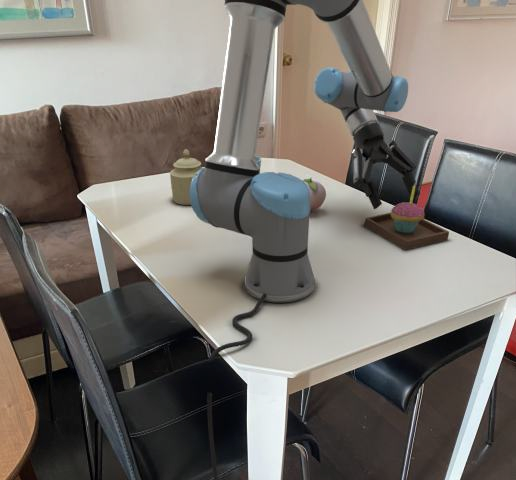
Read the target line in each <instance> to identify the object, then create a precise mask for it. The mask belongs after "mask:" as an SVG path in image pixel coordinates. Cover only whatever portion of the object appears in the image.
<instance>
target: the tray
mask: <svg viewBox="0 0 516 480" xmlns="http://www.w3.org/2000/svg"><path fill="white" fill-rule="evenodd" d="M363 226H364V227H365V228H367V229H369V230H371V231H372V232H374V233H375V234H377V235H379V236H381V238H384V239H385V240H387V241H389V242H390V243H392V244H394V245H396V246H397V247H399V248H401V249H402V250H405V251H409V250H412V249H417V248H421V247H426V246H428V245H433V244H436V243H437V244H438V243H441V242H445V241H448V239H449V235H450V231H448V230H447V229H445V228H442V227H441V226H439V225H436V224H435V223H432V222H431V221H428V220H427V219H425V218H424V219H423V220H421V221H419V222H418V224H417V225H416V227H415V229H414V231H413V232H411V233H402V232H399V231H397V230H396V228H395V222H394V219H392V217H391V212H387V213H383V214H377V215H372V216H368V217H364V224H363Z"/></svg>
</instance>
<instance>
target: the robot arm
mask: <svg viewBox="0 0 516 480" xmlns="http://www.w3.org/2000/svg"><path fill="white" fill-rule="evenodd" d="M223 5H224V7H223V9H224V11H225V12H226V15H228V17H229V20H230V21H229V23H230V24H229V31H228V39H227V46H226V53H225V60H224V61H225V62H224V70H223V76H222V85H221V92H220V101H219V109H218V117H217V124H216V131H215V140H214V147H213V152H212V153H211V154H210V155H209V156H207V157H205V161H204V167H202V168H203V169H200V170H199V171H198V172H197V173H196V174H195V175H196V177H193V179H192V182H191V186H190V202H191V205H190V206H191V208H192V211H193V213H194V214H195V215H196V218H198V219H199V221H202V222H203V223H205V224H208V225H211V226H212V227H214V228H218V229H225V230H227V231H230V232H234V233H237V234H241V235H244V236H249V237H250V238H251V243H252V244H251V245H252V254H251V257H250V260H249V264H248V267H247V270H246V273H245V276H244V288H245V291H246V293H248V294H249V295H250V296H252V297H253V298H255V299H257V300H258V301H257V303H256V304H255V306H254V307H253V309H251V310H250V311H248V312H243V313H239V314H237V315H235V316H234V317H233V318H232V321H231V322H232V325H233V327H235V328H236V329H238V330H240V331H241V332H243V333H245V334H246V335H247V338H245V339H243V340H239V341H233V342H228V343H225V344H223V345H220V346H218V347H217V348H216V349H214V350H213V352H212V353H211V354H210V356H209V358H208V362H209V363H210V362H211V363H212V362H213V361H214V360H215V358H216V356H217V355H218V354H220V352H222V351H224V350H227V349H230V348H236V347H241V346H245V345H247V344H249V343H250V342H251V341H252V339H253V333H252V331H251V330H249V329H248V328H246V327H245V326H243V325H241V324H239V322H238V320H240V319H244V318H248V317H251V316H253V315H254V314H256V313H257V312H258V310H259V309H260V307H261V305H262V304H263V302H267V303H274V304H287V303H293V302H298V301H300V300H302V299H305V298H307V297H308V296H309V295H311V294H312V293H313V292H314V290H315V275H314V271H313V268H312V266H311V262H310V259H309V254H308V252H309V251H308V249H309V247H308V246H309V232H310V231H309V230H310V214H311V212H310V210H311V205H310V192H309V189H308V186H307V185H306V183H305V182H304V181H303V179H301V178H299V177H297V176H295V175H293V174H290V173H287V172H280V171H279V172H274V171H266V172H265V171H264V172H261V167H260V168H259V166H258V165H257V163H256V162H255V159H254V158H255V156H256V151H257V145H258V138H259V132H260V126H261V119H262V114H263V108H264V107H263V106H264V100H265V93H266V88H267V82H268V74H269V67H270V61H271V56H272V49H273V43H274V37H275V30H276V28H278V26H280V25H281V24H283V23H284V22H285V18H286V11H287V7H288V6H295V5H300V6H304V7H307V8H309V9H311V10H312V11H313V13H314V15H315V16H316V18H317V19H318V20H319V21H320V22H323V23H326V25H327V28H328V29H329V30H330V33H331V35H332V36H333V37H332V38H333V39H334V41H335V42H336V44H337V46H338V48H339V51H340V52H341V54H342V56H343V58H344V60H345V62H346V64H347V65H348V68H349V70H350V71H345V72H344V71H341V70H340V69H338V68H335V67H331V66H330V67H326V68H323V69H322V70H320V71H319V72H318V74H317V75H316V77H315V79H314V83H313V89H314V90H313V91H314V93H315V95H316V97H317V98H318V99H320V100H321V101H322V102H323V103H324V104H327V105H330V106H331V107H334V108H336V109H338V110H339V111H340V112H341V114H342V117H343V119H344V121H345V123H346V126H347V128H348V130H349V132H350V135H351V136H352V137H353V142H354V144H355V146H356V147H355V148H354V149H353V150H352V151H351V153H350V155H351V158H352V172H353V173H352V176H353V177H352V178H353V182H352V183H353V185H354V186H355V187H356V186H358V188H359V189H362V190H363V192H364V194H365V196H366V198H368V200H369V202H370V204H371V207H372V209H373V210H377V209H378V208H380V206H382V204H383V203H382V200H381V198H380V195H379V194H378V191H377V189H376V187H375V184H374V182H373V181H372V180H371V181H370V179H371V174H372V169H373V165H375V164H377V163H379V164H380V163H383V164H387V165H388V166H390V168H392V169H394V170H395V171H396V172H398V173H399V174H401V175H402V177H401V179H402V181H403V183H404V185H405V188H406V190H407V193H408V195H409V196H410V198H411V193H412V189H413V186H414V184H415V186H416V187H415V192H414V197H413V200H414V199H415V198H417V197H418V196H420V195H421V193H420V190H419V188H418V186H417V181H416V179H415V176H414V173H413V171H414V170H416V169H417V166H416V165H415V163H414V162H413V161H412V160H411V159H410V158H409V157H408V156H407V155H406V153H404V151H402V149H401V148H400V147H399V146H398V145H397V142H396V141H395V140H394V139H392V140H391V141H390V142H388V143H386V141H385V139H384V138H385V137H384V136H385V134H384V132H383V129H382V127H381V125H380V123H378V122H379V120H378V118H377V116H376V113H375V111H377V112H378V111H379V112H383V113H386V112H387V113H388V112H389V113H398V112H400V111H402V109H403V108H404V106H405V104H406V102H407V99H408V95H409V81H408V80H407V79H406V78H405V77H402V76H399V75H396V76H394V75H393V73H392V71H391V68H390V66H389V64H388V60H387V58H386V56H385V55H386V54H385V52H384V51H383V50H384V49H383V48H382V46H381V43H380V40H379V37H378V35H377V33H376V30H375V28H374V25H373V23H372V20H371V17H370V15H369V12H368V10H367V7H366V5H365V2H364V0H224V4H223ZM363 158H364V162H363ZM259 172H260V174H259ZM239 345H240V346H239ZM206 395H207V401H206V403H207V405H206V406H207V407H206V408H207V410H206V411H207V429H208V441H209V449H210V458H211V465H212V466H211V468H212V477H213V480H219V479H218V477H219V476H218V468H217V457H216V450H215V442H214V441H215V440H214V428H213V393H212V392H207V394H206Z"/></svg>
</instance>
